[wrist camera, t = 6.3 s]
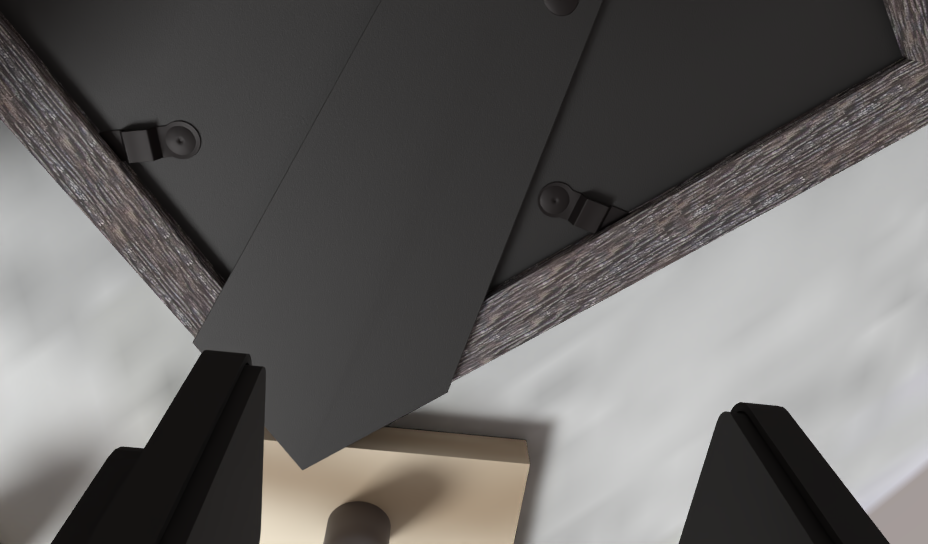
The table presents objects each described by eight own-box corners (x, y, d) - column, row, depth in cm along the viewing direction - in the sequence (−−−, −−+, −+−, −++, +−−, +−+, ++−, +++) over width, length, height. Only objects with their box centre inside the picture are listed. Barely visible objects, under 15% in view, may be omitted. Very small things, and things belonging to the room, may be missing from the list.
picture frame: (312, 429, 24) (958, 75, 19) (301, 471, 22) (1012, 89, 18) (-86, -32, 18) (716, -674, 14) (-146, -29, 16) (759, -769, 12)
